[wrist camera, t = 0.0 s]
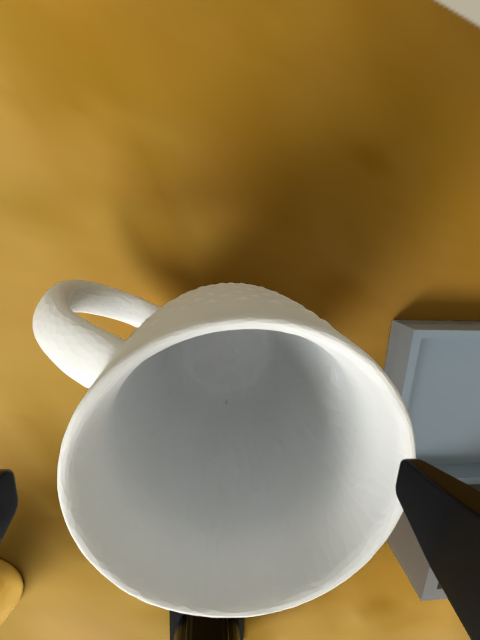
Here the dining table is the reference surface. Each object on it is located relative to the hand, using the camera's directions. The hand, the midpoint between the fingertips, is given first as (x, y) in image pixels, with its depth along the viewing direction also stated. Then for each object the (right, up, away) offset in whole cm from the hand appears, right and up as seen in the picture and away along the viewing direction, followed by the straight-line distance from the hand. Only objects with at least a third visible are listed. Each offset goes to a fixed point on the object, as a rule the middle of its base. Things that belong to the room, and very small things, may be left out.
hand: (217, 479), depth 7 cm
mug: (-1, +2, +15) cm, 15 cm away
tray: (+17, -2, +17) cm, 25 cm away
